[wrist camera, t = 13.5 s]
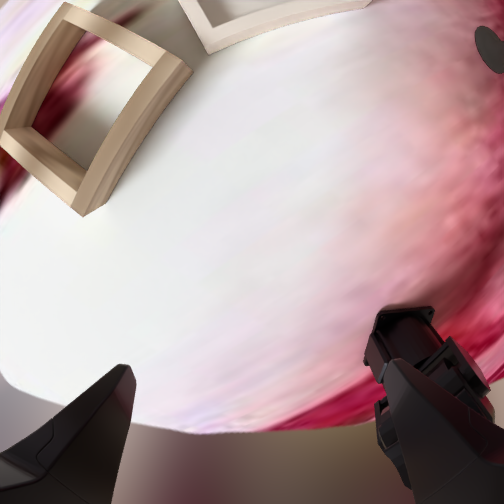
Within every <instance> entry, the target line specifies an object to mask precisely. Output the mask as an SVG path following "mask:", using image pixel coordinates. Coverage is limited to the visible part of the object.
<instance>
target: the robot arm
mask: <svg viewBox="0 0 504 504" xmlns="http://www.w3.org/2000/svg"><path fill="white" fill-rule="evenodd" d="M434 312H435V310H434V308H433V307H432V306H428V307H419V308H410V309H400V310H390V311H381V312H379V313H378V314H377V316H376V319H375V323H374V326H373V330H372V333H371V334H370V336H369V340H368V343H367V347H366V350H365V353H364V354H365V357H364V360H363V362H364V365H365V366H370V368H371V370H372V372H373V375H374V377H375V379H376V382H377V383H378V384H381V383H382V385H383V387H384V389H385V391H386V394H387V395H386V396H385V397H384V398H383V399H381V400H379V401H377V402H376V403H375V404H374V407H375V418H376V428H377V429H376V430H377V439H378V445H379V446H380V447H381V449H382V451H383V452H384V453H385V455H386V456H387V457H389V458H390V459H391V461H392V462H393V464H394V465H395V467H396V468H397V470H398V472H399V474H400V476H401V478H402V481H403V483H404V485H405V486H406V487H408V488H409V489H411V490H412V491H413V495H414V499H415V504H504V429H503V428H501V427H499V426H497V425H496V424H495V411H494V407H493V406H492V404H491V403H490V401H489V400H488V398H487V397H486V395H487V394H488V393H489V392H490V391H491V390H490V387H489V385H488V383H487V381H486V379H485V377H484V375H483V373H482V371H481V369H480V368H479V366H478V365H477V364H476V362H475V361H474V360H473V359H472V357H471V356H470V355H469V353H468V352H467V351H466V350H465V349H464V348H463V347H461V346H460V345H459V344H458V343H457V342H456V341H455V340H454V339H453V338H452V337H451V336H449V337H448V338H447V339H446V340H445V341H446V342H444V341H443V339H442V338H441V337H440V335H439V334H438V333H437V331H436V330H435V329H434V328H433V326H432V325H431V324H430V323H431V320H432V318H433V315H434ZM382 316H383V317H382ZM381 317H382V318H381ZM135 391H136V379H135V377H134V374H133V372H132V369H131V367H130V366H129V365H126V364H118V365H116V366H115V367H114V368H113V369H111V370H110V371H109V372H108V373H106V374H105V375H104V376H103V377H102V378H100V379H99V380H98V381H97V382H95V383H94V384H93V385H92V386H91V387H89V388H88V389H87V390H86V391H84V392H83V393H82V394H81V395H80V396H78V397H77V398H76V399H75V400H73V401H72V402H71V403H70V404H69V405H67V406H66V407H65V408H64V409H63V410H61V411H60V412H59V413H58V414H56V415H55V416H54V417H53V419H52V418H51V419H50V420H49V421H48V422H46V423H45V424H44V425H43V426H41V427H40V428H39V429H37V430H36V431H35V432H33V433H32V434H30V435H29V436H28V437H26V438H24V439H23V440H21V441H20V442H18V443H16V444H15V445H13V446H12V447H10V448H8V449H7V450H5V451H3V452H1V453H0V504H111V501H112V497H113V491H114V487H115V483H116V479H117V473H118V470H119V466H120V462H121V457H122V453H123V449H124V445H125V441H126V438H127V434H128V430H129V426H130V422H131V417H132V410H133V404H134V397H135Z"/></svg>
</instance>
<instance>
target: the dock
mask: <svg viewBox="0 0 504 504" xmlns="http://www.w3.org/2000/svg"><path fill="white" fill-rule="evenodd" d="M178 1H179V3H180V4H181V6H182V8H183V10H184V11H185V13H186V15H187V17H188V19H189V20H190V22H191V24H192V26H193V27H194V29H195V31H196V33H197V35H198V37H199V38H200V40H201V42H202V44H203V46H204V48H205V49H206V51H207V53H208V55H210V54H212V53H214V52H216V51H219V50H221V49H223V48H226V47H228V46H231V45H233V44H235V43H238V42H241V41H243V40H246V39H248V38H251V37H254V36H256V35H259V34H262V33H265V32H268V31H271V30H274V29H277V28H280V27H284V26H287V25H290V24H294V23H297V22H301V21H305V20H309V19H313V18H317V17H321V16H325V15H330V14H335V13H340V12H345V11H351V10H357V9H363V8H365V7H366V6H367V5H368V4H369V3H370V2H371V1H372V0H178Z"/></svg>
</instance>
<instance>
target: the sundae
mask: <svg viewBox="0 0 504 504" xmlns="http://www.w3.org/2000/svg"><path fill="white" fill-rule="evenodd" d="M475 40H476V45H477V48H478V51H479V53H480V55H481V57H482V58H483V60H484V62H485V63H486V64H487V65H488V66H489V68H490V69H492V70H493V71H494V72H496V73H501V74H502V73H504V41H500V39H499V38H498V36H497V35H496V34H495V33H494V32H493V31H492V30H491V29H489V28H487V27H485V26H480V27H478V28H477V29H476V32H475Z"/></svg>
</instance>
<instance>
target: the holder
mask: <svg viewBox="0 0 504 504" xmlns="http://www.w3.org/2000/svg"><path fill="white" fill-rule="evenodd" d="M86 31H88V32H90V33H92V34H94V35H96V36H98V37H100V38H102V39H104V40H106V41H108V42H110V43H112V44H114V45H115V46H117V47H119V48H121V49H123V50H124V51H126V52H128V53H130V54H131V55H133V56H135V57H137V58H138V59H140V60H142V61H144V62H145V63H147V64H149V65H150V66H152V67H153V68H152V69H151V70H150V72H149V73H148V74H147V76H146V77H145V78H144V80H143V81H142V82H141V84H140V85H139V87H138V88H137V89H136V91H135V92H134V94H133V95H132V97H131V98H130V99H129V101H128V102H127V104H126V105H125V107H124V108H123V110H122V112H121V113H120V115H119V116H118V118H117V119H116V121H115V123H114V124H113V126H112V127H111V129H110V131H109V132H108V134H107V136H106V138H105V139H104V141H103V143H102V145H101V146H100V148H99V150H98V152H97V154H96V155H95V157H94V159H93V161H92V163H91V165H90V167H89V169H88V171H86V170H85V169H84V168H82V167H81V166H80V165H78V164H77V163H76V162H75V161H73V160H72V159H71V158H70V157H68V156H67V155H66V154H64V153H63V152H62V151H61V150H59V149H58V148H57V147H56V146H54V145H53V144H52V143H51V142H49V141H48V140H47V139H46V138H44V137H43V136H42V135H41V134H39V133H38V132H37V131H36V130H35V129H33V128H32V127H31V126H32V123H33V121H34V119H35V117H36V115H37V112H38V110H39V108H40V106H41V104H42V102H43V100H44V98H45V96H46V94H47V92H48V91H49V89H50V87H51V85H52V83H53V81H54V80H55V78H56V76H57V74H58V73H59V71H60V69H61V68H62V66H63V64H64V63H65V61H66V60H67V58H68V56H69V55H70V53H71V52H72V50H73V49H74V47H75V46H76V44H77V43H78V41H79V40H80V39H81V37H82V36H83V34H84V33H85V32H86ZM192 74H193V71H192V70H191V69H190V68H189V67H188V66H187V65H186V64H185V63H184V61H183V60H181V59H180V58H178V57H176V56H175V55H173V54H171V53H170V52H168V51H166V50H164V49H163V48H161V47H159V46H157V45H156V44H154V43H152V42H150V41H148V40H147V39H145V38H143V37H141V36H139V35H137V34H135V33H133V32H131V31H129V30H128V29H126V28H124V27H122V26H120V25H117V24H115V23H113V22H111V21H109V20H107V19H105V18H103V17H100V16H98V15H96V14H94V13H91V12H89V11H87V10H84V9H82V8H79V7H77V6H74V5H72V4H69V3H67V2H64V3H63V4H62V5H61V7H60V8H59V9H58V11H57V12H56V13H55V15H54V16H53V18H52V19H51V20H50V22H49V23H48V25H47V26H46V28H45V29H44V31H43V32H42V34H41V35H40V37H39V39H38V40H37V42H36V43H35V45H34V47H33V49H32V50H31V52H30V54H29V55H28V57H27V59H26V61H25V63H24V64H23V66H22V68H21V70H20V72H19V74H18V76H17V78H16V80H15V82H14V84H13V86H12V88H11V91H10V93H9V95H8V97H7V100H6V102H5V104H4V107H3V109H2V112H1V114H0V146H1V147H3V148H4V149H5V150H6V151H7V152H8V153H9V154H10V155H11V156H12V157H13V158H14V159H15V160H16V161H17V162H19V163H20V164H21V165H22V166H23V167H24V168H25V169H26V170H27V171H29V172H30V173H31V174H32V175H33V176H34V177H35V178H36V179H38V180H39V181H40V182H41V183H42V184H43V185H44V186H46V187H47V188H48V189H49V190H50V191H51V192H53V193H54V194H55V195H56V196H57V197H59V198H60V199H61V200H62V201H63V202H65V203H66V204H67V205H68V206H70V207H71V208H72V209H73V210H74V211H76V212H77V213H78V214H79V215H81V216H82V217H84V216H86V215H87V214H89V213H91V212H92V211H94V210H96V209H97V208H99V207H101V206H102V205H104V204H106V202H107V200H108V198H109V196H110V195H111V193H112V191H113V189H114V187H115V186H116V184H117V182H118V180H119V179H120V177H121V175H122V174H123V172H124V170H125V168H126V167H127V165H128V163H129V162H130V160H131V159H132V157H133V155H134V154H135V152H136V151H137V149H138V147H139V146H140V144H141V143H142V141H143V140H144V138H145V137H146V135H147V134H148V132H149V131H150V129H151V128H152V126H153V125H154V124H155V122H156V121H157V119H158V118H159V116H160V115H161V114H162V112H163V111H164V110H165V108H166V107H167V105H168V104H169V103H170V101H171V100H172V99H173V97H174V96H175V95H176V94H177V92H178V91H179V90H180V88H181V87H182V86H183V85H184V83H185V82H186V81H187V80H188V78H189V77H190V76H191V75H192Z"/></svg>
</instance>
